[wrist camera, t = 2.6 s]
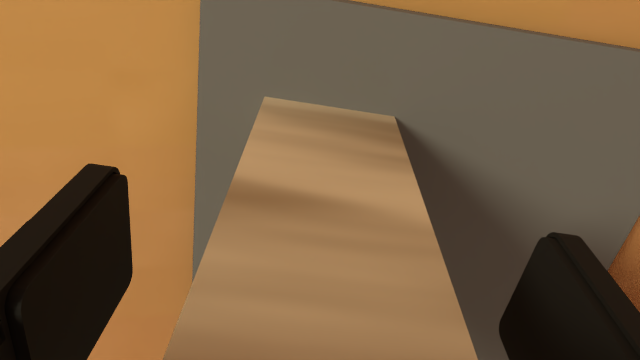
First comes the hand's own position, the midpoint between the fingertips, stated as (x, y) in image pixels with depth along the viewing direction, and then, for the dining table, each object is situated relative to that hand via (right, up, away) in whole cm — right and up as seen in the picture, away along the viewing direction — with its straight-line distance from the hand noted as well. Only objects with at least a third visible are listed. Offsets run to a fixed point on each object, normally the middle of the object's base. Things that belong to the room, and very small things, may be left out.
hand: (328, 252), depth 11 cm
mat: (+2, -5, +9) cm, 10 cm away
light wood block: (0, +2, +4) cm, 5 cm away
